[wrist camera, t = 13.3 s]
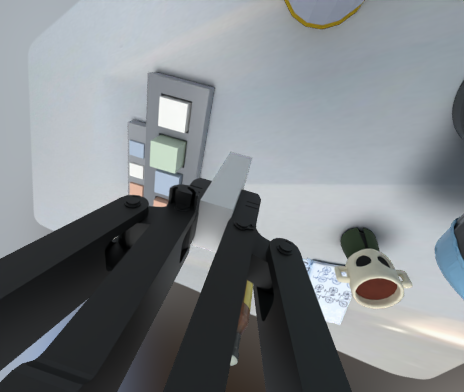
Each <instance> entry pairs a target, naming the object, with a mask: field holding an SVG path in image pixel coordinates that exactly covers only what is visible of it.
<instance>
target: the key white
mask: <svg viewBox="0 0 464 392" xmlns="http://www.w3.org/2000/svg"><path fill="white" fill-rule="evenodd" d="M191 109H192V101H188V100H184V99H181V98H177V97H173V96H170V95H164V96H160V100H159V118H158V126H161V127H164V128H168V129H171V130H175V131H178V132H182V133H185V132H187V131H188V130H189V125H190V117H191Z"/></svg>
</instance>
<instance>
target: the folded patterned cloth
mask: <svg viewBox="0 0 464 392" xmlns="http://www.w3.org/2000/svg"><path fill="white" fill-rule="evenodd" d="M307 259H308V260H307ZM307 259H303V261H304V264H305V267H306V269H307V272H308V275H309V278H310V280H311V283H312V286H313V288H314V291H315V294H316V296H317V299H318V302H319V305H320V307H321V310H322V313H323V315H324V318H325V321H327V322H330V323H336V324H338V325H340V324H341V322H342V319H343V317H344V314H345V312H346V310H347V307H348V305H349V303H350V301H351V298H352V293H351V289H350V285H349V283H342V282H338V280H337V279H336V275H335V270H334V268H335V266H340V265H334V264H328V263H323V262H318V261H314V260H313V261H312V260H311V259H309V258H308V257H307ZM341 274H342V276H346V277H347V274H346V272H341Z"/></svg>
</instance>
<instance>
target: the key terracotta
mask: <svg viewBox="0 0 464 392" xmlns="http://www.w3.org/2000/svg"><path fill="white" fill-rule="evenodd" d="M168 201H169V200H168V199H165V198H162V197H158V196H157V197H156V198H155V199H154V204H153V206H155V207H165V206H166V205H167V204H168Z"/></svg>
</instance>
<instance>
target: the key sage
mask: <svg viewBox="0 0 464 392" xmlns="http://www.w3.org/2000/svg"><path fill="white" fill-rule="evenodd" d="M186 143H187V141H184V140H181V139H177V138H174V137H170V136H167V135H163V134H161V135H160V136H158V137H156V138H154V139H153V140H151V146H150V166H151V167H154V168H157V169H161V170H164V171H168V172H171V173H174V174H175V173H176V172H177V171H178V170H179V169H180V168H181V167H182V166H183V165H184V159H185V151H186Z"/></svg>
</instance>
